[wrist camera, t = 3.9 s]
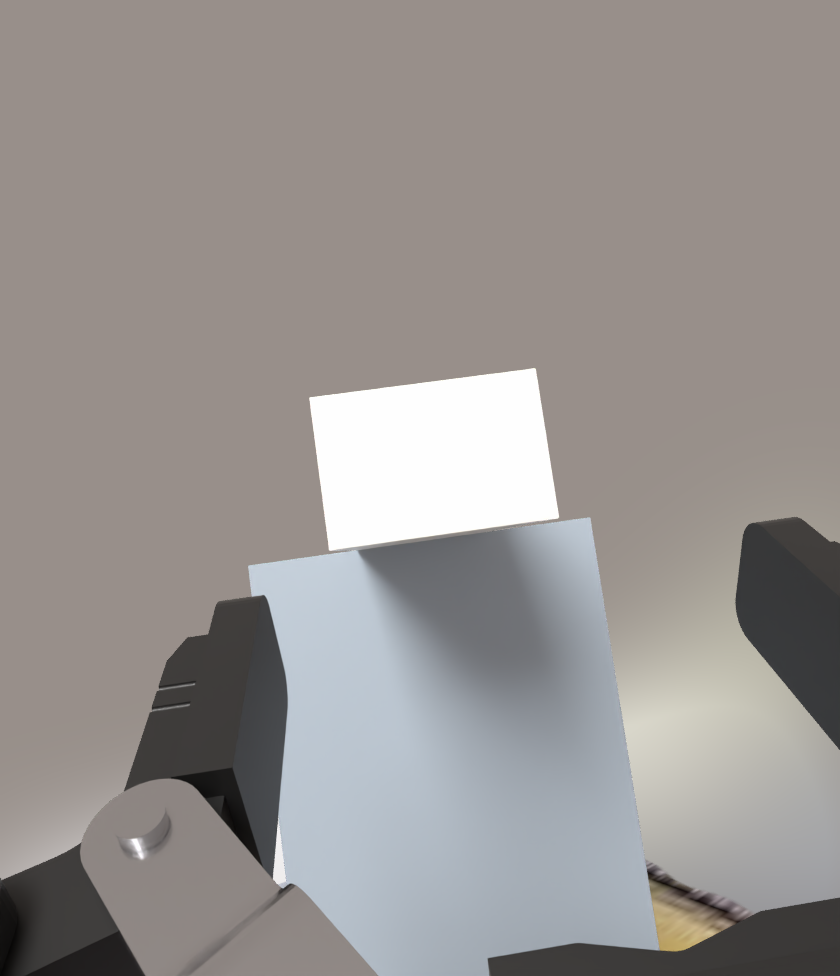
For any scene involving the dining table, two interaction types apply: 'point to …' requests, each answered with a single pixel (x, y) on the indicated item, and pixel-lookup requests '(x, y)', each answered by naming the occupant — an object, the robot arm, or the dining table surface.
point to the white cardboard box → (433, 460)
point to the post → (457, 750)
